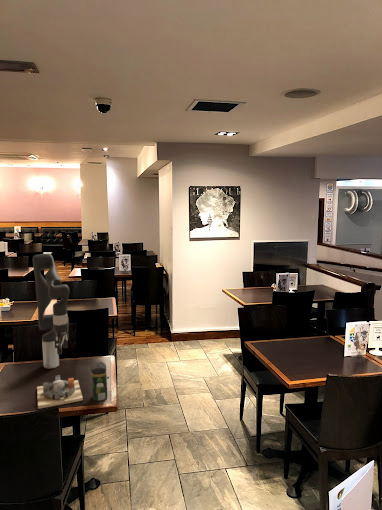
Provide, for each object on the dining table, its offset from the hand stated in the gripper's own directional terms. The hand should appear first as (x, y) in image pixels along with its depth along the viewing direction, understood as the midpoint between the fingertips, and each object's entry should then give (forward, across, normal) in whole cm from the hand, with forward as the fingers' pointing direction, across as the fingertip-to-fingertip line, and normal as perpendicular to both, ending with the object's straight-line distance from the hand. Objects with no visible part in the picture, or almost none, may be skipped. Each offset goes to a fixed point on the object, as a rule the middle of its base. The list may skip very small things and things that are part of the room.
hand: (62, 351), depth 216 cm
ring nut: (+23, +2, -3) cm, 23 cm away
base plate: (+24, +2, -2) cm, 24 cm away
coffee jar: (+24, +4, +20) cm, 32 cm away
